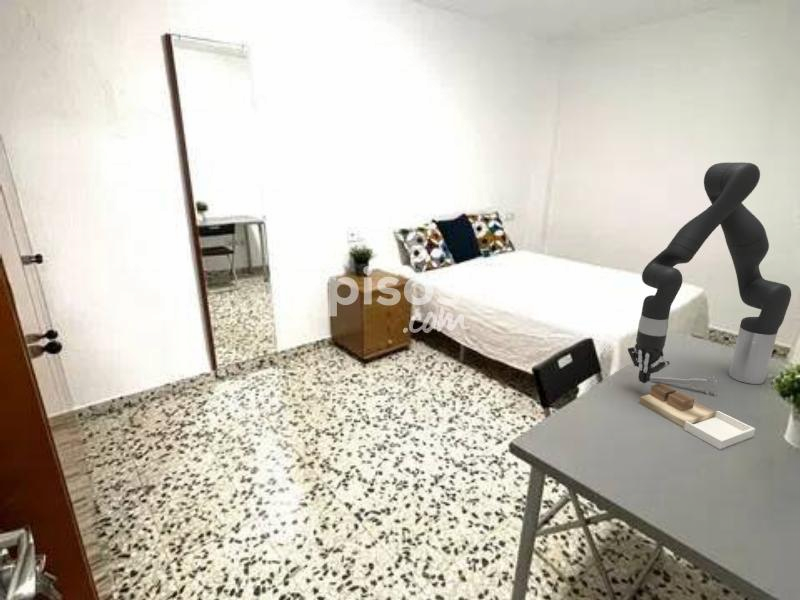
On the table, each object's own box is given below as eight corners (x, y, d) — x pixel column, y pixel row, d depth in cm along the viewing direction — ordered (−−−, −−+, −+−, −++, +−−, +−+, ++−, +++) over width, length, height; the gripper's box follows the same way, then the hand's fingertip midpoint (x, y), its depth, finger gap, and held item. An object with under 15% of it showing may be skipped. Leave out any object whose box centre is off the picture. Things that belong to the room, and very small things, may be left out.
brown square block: (660, 391, 126) (662, 382, 126) (674, 398, 122) (676, 389, 122) (649, 394, 125) (651, 385, 124) (663, 401, 121) (665, 392, 120)
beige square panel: (667, 394, 129) (668, 388, 128) (713, 417, 116) (715, 411, 115) (639, 402, 124) (640, 396, 124) (684, 428, 112) (685, 421, 111)
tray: (716, 418, 116) (718, 410, 115) (753, 436, 108) (755, 428, 107) (683, 429, 112) (685, 421, 111) (719, 449, 103) (721, 441, 103)
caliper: (715, 395, 128) (719, 377, 126) (715, 397, 127) (719, 379, 125) (640, 378, 139) (643, 361, 137) (640, 380, 138) (642, 363, 136)
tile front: (677, 400, 122) (679, 391, 121) (692, 408, 118) (694, 398, 117) (666, 403, 120) (668, 394, 119) (681, 411, 116) (683, 402, 115)
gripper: (682, 336, 119) (671, 389, 124) (641, 321, 131) (633, 370, 136) (664, 340, 116) (653, 394, 122) (624, 325, 128) (616, 374, 133)
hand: (643, 381), depth 129 cm, fingers closed
